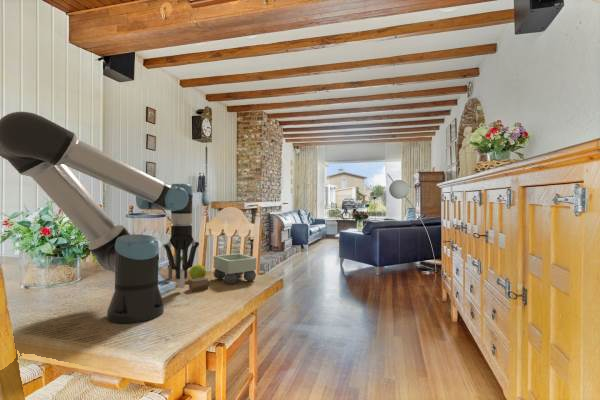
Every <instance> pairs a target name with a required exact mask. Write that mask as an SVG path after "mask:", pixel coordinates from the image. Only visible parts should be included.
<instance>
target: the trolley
mask: <svg viewBox="0 0 600 400" xmlns="http://www.w3.org/2000/svg"><path fill="white" fill-rule="evenodd" d="M213 269H214V271H213V277H214V278H215V279H218V280H224V282H225V284H228V285H234V284H235V283H236V282H237V280H238V277H242V276H243V278H244V280H245V281H248V282H250V281H251V282H253V281H255V279H256V276H257V274H256V272H255V271H257V257H253V256H250V255H247V254H243V253H229V254H221V255H220V254H219V255H213Z"/></svg>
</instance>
